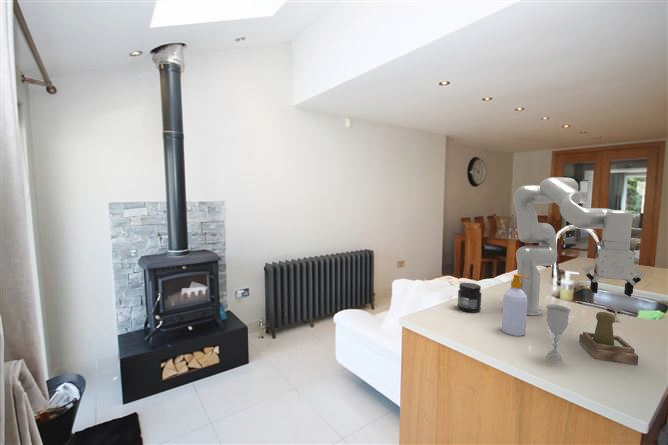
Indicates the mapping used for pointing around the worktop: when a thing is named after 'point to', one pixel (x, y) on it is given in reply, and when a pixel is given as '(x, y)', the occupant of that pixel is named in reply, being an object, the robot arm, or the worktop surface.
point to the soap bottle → (514, 308)
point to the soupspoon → (615, 311)
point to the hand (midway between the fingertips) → (610, 293)
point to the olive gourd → (604, 328)
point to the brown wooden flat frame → (609, 349)
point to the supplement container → (469, 297)
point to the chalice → (556, 327)
